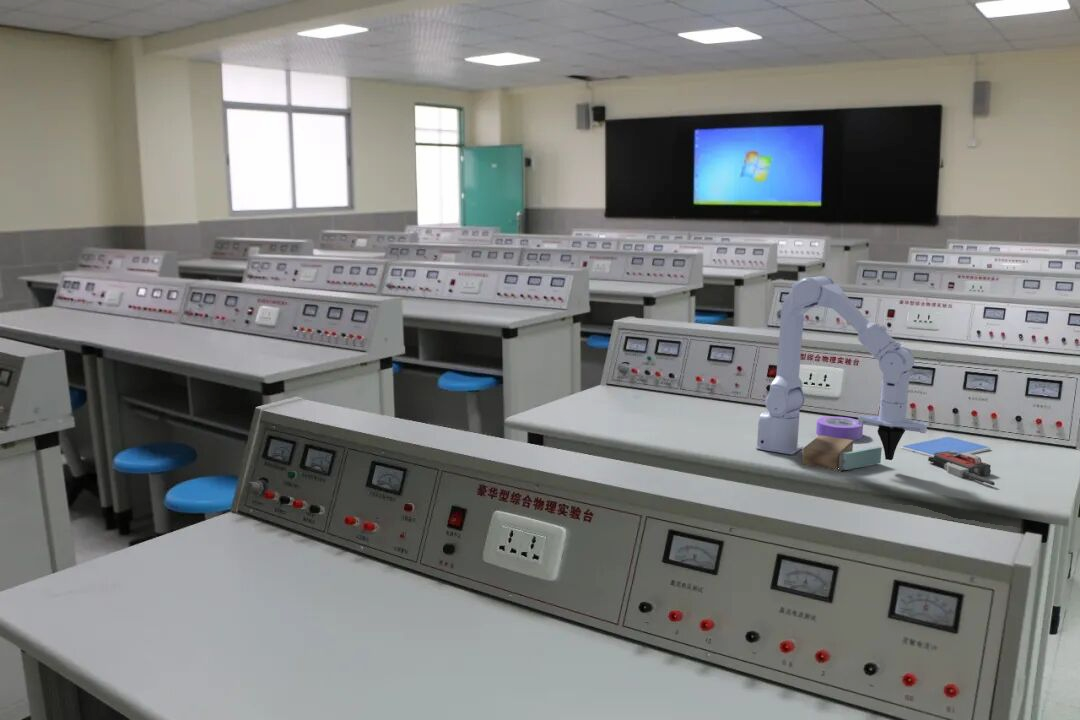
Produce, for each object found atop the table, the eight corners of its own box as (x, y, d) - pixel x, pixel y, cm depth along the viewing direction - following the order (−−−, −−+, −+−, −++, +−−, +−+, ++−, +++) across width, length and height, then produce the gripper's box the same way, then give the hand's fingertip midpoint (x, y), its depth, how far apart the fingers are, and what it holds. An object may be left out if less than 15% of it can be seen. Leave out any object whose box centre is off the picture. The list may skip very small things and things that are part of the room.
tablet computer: (942, 463, 211) (943, 457, 211) (898, 450, 222) (898, 445, 221) (991, 452, 221) (992, 447, 220) (947, 440, 231) (947, 435, 231)
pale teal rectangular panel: (843, 470, 201) (844, 454, 201) (839, 469, 202) (840, 453, 201) (880, 462, 207) (881, 447, 207) (877, 461, 208) (878, 446, 208)
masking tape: (854, 443, 226) (855, 429, 225) (809, 436, 233) (810, 422, 232) (867, 434, 235) (869, 420, 235) (824, 427, 242) (825, 414, 241)
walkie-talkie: (920, 465, 209) (989, 490, 190) (921, 447, 208) (991, 471, 189) (948, 461, 212) (1019, 486, 193) (950, 444, 211) (1021, 467, 193)
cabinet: (801, 465, 206) (802, 447, 205) (818, 450, 218) (820, 433, 218) (841, 472, 201) (842, 453, 200) (857, 456, 213) (858, 439, 213)
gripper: (856, 400, 200) (852, 457, 202) (924, 408, 192) (919, 468, 194) (863, 394, 206) (859, 450, 208) (930, 402, 198) (925, 460, 200)
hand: (889, 458), depth 202 cm, fingers closed
